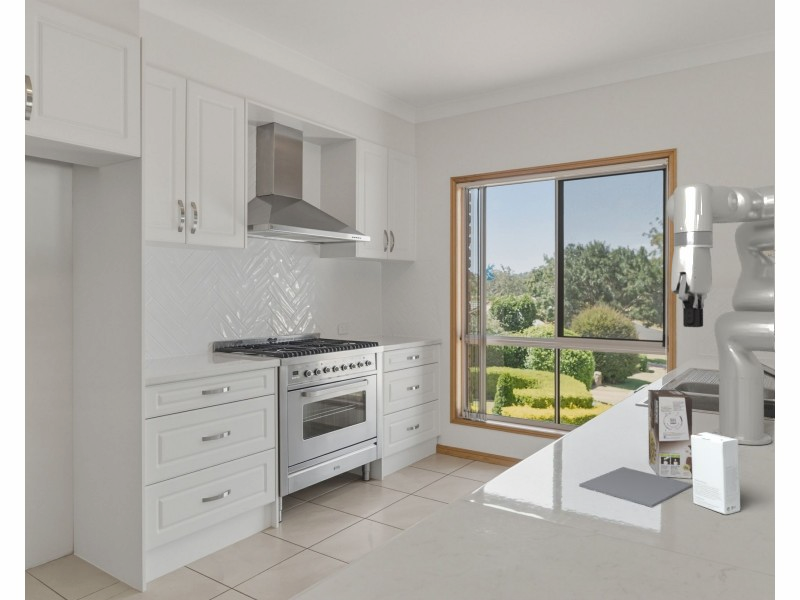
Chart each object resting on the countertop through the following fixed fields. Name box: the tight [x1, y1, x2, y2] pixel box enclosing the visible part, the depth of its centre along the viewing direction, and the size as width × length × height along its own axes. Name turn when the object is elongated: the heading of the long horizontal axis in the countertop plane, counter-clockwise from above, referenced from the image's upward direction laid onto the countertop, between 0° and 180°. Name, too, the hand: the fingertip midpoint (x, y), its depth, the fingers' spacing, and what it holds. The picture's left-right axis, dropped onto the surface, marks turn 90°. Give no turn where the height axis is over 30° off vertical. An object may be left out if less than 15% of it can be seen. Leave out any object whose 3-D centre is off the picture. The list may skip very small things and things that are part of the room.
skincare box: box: [691, 431, 741, 515], centre depth 96 cm, size 6×4×12 cm
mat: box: [578, 466, 693, 508], centre depth 106 cm, size 16×14×1 cm
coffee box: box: [647, 389, 693, 480], centre depth 115 cm, size 9×6×16 cm
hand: (693, 326), depth 122 cm, fingers closed
